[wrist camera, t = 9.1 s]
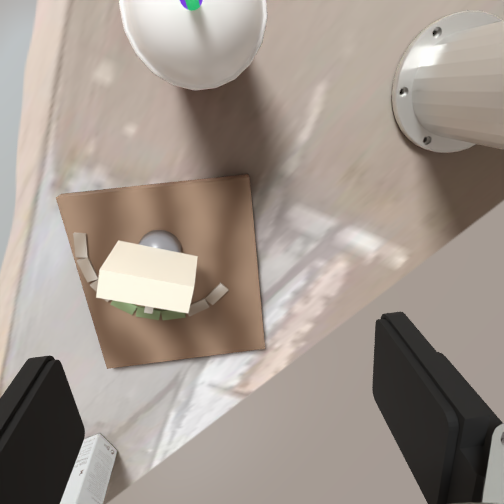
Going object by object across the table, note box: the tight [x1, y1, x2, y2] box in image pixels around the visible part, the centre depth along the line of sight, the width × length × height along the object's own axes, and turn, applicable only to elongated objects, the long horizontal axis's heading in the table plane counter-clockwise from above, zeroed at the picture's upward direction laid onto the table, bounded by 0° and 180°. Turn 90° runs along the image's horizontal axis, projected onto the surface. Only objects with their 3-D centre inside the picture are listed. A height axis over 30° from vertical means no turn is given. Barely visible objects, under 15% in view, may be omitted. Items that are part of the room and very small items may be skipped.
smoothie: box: [119, 0, 268, 91], centre depth 25 cm, size 8×8×20 cm
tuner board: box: [56, 174, 265, 369], centre depth 42 cm, size 19×21×2 cm
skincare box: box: [60, 434, 117, 504], centre depth 47 cm, size 6×4×12 cm
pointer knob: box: [96, 230, 198, 314], centre depth 37 cm, size 10×8×9 cm
